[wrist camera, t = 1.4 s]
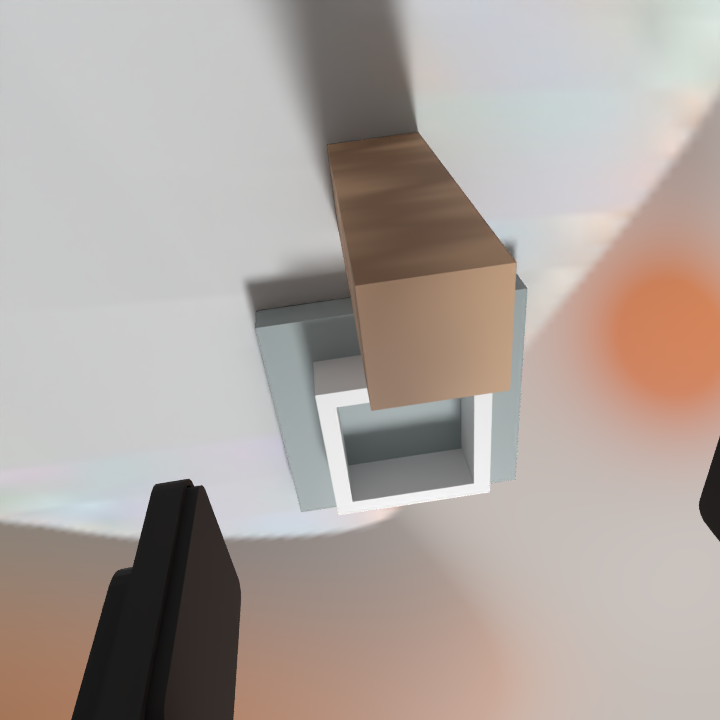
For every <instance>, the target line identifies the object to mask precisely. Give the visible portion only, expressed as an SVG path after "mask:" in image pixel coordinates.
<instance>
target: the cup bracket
mask: <svg viewBox="0 0 720 720" xmlns="http://www.w3.org/2000/svg"><path fill="white" fill-rule="evenodd" d="M526 302H527V287H526V286H525V285H524V283H523V282H522V280H521V279H520V278H519V276H518V275H517V274H516V283H515V303H514V323H513V343H512V364H511V384H510V390H509V391H502V392H496V393H489V394H482V395H476V396H469V397H462V398H455V399H449V400H442V401H435V402H429V403H422V404H415V405H408V406H402V407H395V408H388V409H382V410H375V411H371V407H370V402H369V396H368V391H367V385H366V379H365V374H364V368H363V363H362V357H361V352H360V346H359V341H358V335H357V330H356V324H355V318H354V313H353V307H352V302H351V298H344V299H337V300H330V301H323V302H316V303H309V304H302V305H296V306H289V307H282V308H275V309H268V310H261V311H257V312H256V322H255V331H256V335H257V339H258V343H259V347H260V351H261V355H262V358H263V362H264V366H265V370H266V374H267V378H268V382H269V386H270V390H271V394H272V398H273V402H274V406H275V410H276V414H277V418H278V422H279V426H280V430H281V434H282V438H283V442H284V446H285V450H286V454H287V458H288V462H289V466H290V470H291V474H292V478H293V482H294V486H295V490H296V494H297V498H298V502H299V506H300V510H301V512H306V511H312V510H319V509H326V508H332V507H337V510H338V515H344V514H350V513H357V512H363V511H370V510H376V509H383V508H389V507H396V506H403V505H409V504H416V503H422V502H429V501H435V500H442V499H448V498H455V497H462V496H468V495H475V494H481V493H488V492H490V483H496V482H502V481H509V480H515V476H516V460H517V444H518V429H519V428H518V427H519V413H520V397H521V381H522V365H523V364H522V363H523V349H524V334H525V318H526Z"/></svg>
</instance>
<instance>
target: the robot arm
mask: <svg viewBox="0 0 720 720" xmlns="http://www.w3.org/2000/svg"><path fill="white" fill-rule="evenodd" d="M699 510H700V513H701V516H702V518H703V520H704V522H705V523H706V524H707V526H708V527H709V528H710V530H711V531H712V532H713V534H714V535H715V536H716V537H717V539H718V540H719V541H720V438H719V441H718V444H717V447H716V450H715V453H714V457H713V460H712V463H711V466H710V469H709V473H708V476H707V479H706V482H705V485H704V488H703V492H702V495H701V498H700V501H699ZM240 606H241V590H240V583H239V579H238V576H237V574H236V571H235V568H234V566H233V563H232V561H231V558H230V555H229V552H228V550H227V547H226V544H225V542H224V539H223V536H222V533H221V531H220V528H219V525H218V523H217V520H216V517H215V515H214V512H213V509H212V507H211V504H210V501H209V499H208V496H207V493H206V490H205V488H204V487H203V486H202V485H201V486H195V487H194V485H193V483H192V481H191V480H190V479H184V480H178V481H172V482H166V483H160V484H156V485H155V486H154V487H153V489H152V492H151V496H150V500H149V504H148V508H147V512H146V516H145V520H144V524H143V528H142V532H141V536H140V540H139V545H138V549H137V552H136V557H135V560H134V565H133V567H130V568H125V569H121V570H118V571H117V572H116V573H115V574H114V576H113V577H112V580H111V582H110V585H109V588H108V591H107V595H106V599H105V602H104V606H103V609H102V613H101V616H100V620H99V623H98V627H97V630H96V634H95V638H94V641H93V645H92V648H91V652H90V655H89V659H88V663H87V666H86V669H85V673H84V677H83V680H82V684H81V688H80V691H79V695H78V698H77V701H76V705H75V708H74V712H73V716H72V719H71V720H233V716H234V715H233V714H234V700H235V685H236V669H237V654H238V638H239V621H240Z"/></svg>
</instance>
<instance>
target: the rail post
mask: <svg viewBox="0 0 720 720" xmlns="http://www.w3.org/2000/svg"><path fill="white" fill-rule="evenodd" d="M327 149H328V157H329V164H330V171H331V178H332V186H333V193H334V200H335V207H336V215H337V222H338V229H339V235H340V241H341V246H342V252H343V257H344V263H345V269H346V274H347V280H348V285H349V291H350V296H351V302H352V307H353V313H354V318H355V324H356V330H357V335H358V341H359V346H360V352H361V357H362V363H363V368H364V374H365V379H366V385H367V391H368V396H369V402H370V407H371V411H375V410H382V409H388V408H395V407H402V406H408V405H415V404H422V403H429V402H435V401H442V400H449V399H455V398H462V397H469V396H476V395H482V394H489V393H496V392H502V391H509V390H510V384H511V364H512V343H513V323H514V303H515V283H516V263H517V262H516V261H515V260H514V258H513V257H512V256H511V254H510V253H509V252H508V251H507V249H506V248H505V247H504V245H503V244H502V243H501V241H500V240H499V239H498V237H497V236H496V235H495V233H494V232H493V231H492V229H491V228H490V227H489V225H488V224H487V223H486V221H485V220H484V219H483V217H482V216H481V215H480V213H479V212H478V211H477V209H476V208H475V207H474V205H473V204H472V203H471V201H470V200H469V199H468V197H467V196H466V195H465V193H464V192H463V191H462V189H461V188H460V187H459V185H458V184H457V183H456V182H455V180H454V179H453V178H452V176H451V175H450V174H449V172H448V171H447V170H446V168H445V167H444V166H443V164H442V163H441V162H440V160H439V159H438V158H437V156H436V155H435V154H434V152H433V151H432V150H431V148H430V147H429V146H428V144H427V143H426V142H425V140H424V139H423V138H422V136H421V135H420V134H419V132H414V133H407V134H400V135H393V136H386V137H379V138H371V139H364V140H357V141H350V142H343V143H336V144H329V145H327Z"/></svg>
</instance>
